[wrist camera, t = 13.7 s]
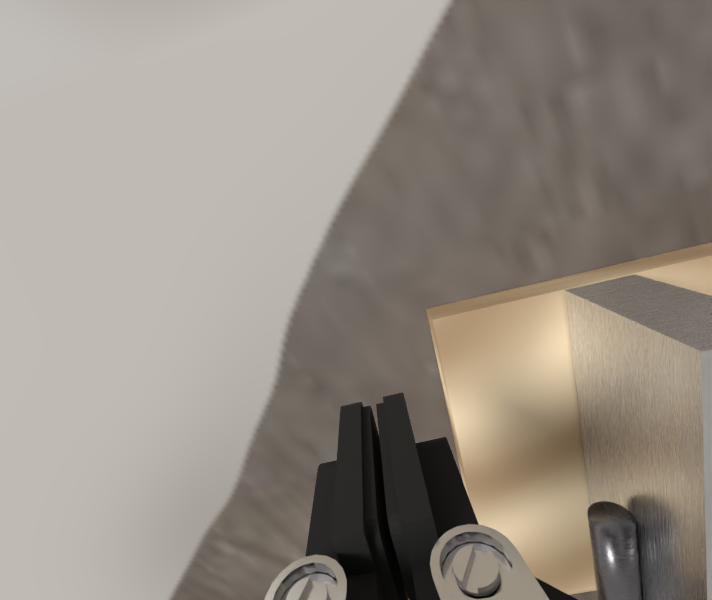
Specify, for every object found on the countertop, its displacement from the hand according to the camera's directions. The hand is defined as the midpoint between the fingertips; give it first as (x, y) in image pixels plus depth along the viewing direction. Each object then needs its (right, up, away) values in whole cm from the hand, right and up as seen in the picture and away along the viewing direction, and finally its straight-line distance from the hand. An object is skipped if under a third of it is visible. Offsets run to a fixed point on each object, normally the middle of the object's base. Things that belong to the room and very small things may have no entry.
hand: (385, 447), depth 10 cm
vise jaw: (+9, -3, +6) cm, 12 cm away
